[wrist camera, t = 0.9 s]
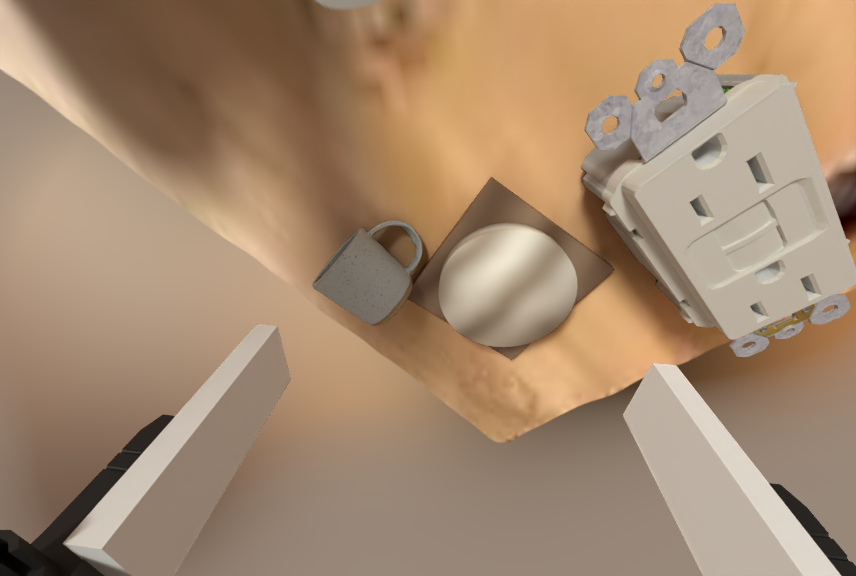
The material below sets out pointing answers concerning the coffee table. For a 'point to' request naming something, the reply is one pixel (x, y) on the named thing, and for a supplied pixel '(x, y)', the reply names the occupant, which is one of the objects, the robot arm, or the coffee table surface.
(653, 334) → the coffee table surface
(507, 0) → the coffee table surface
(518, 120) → the coffee table surface
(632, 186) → the electrical outlet
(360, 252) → the ceramic mug
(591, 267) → the pedestal
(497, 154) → the coffee table surface
